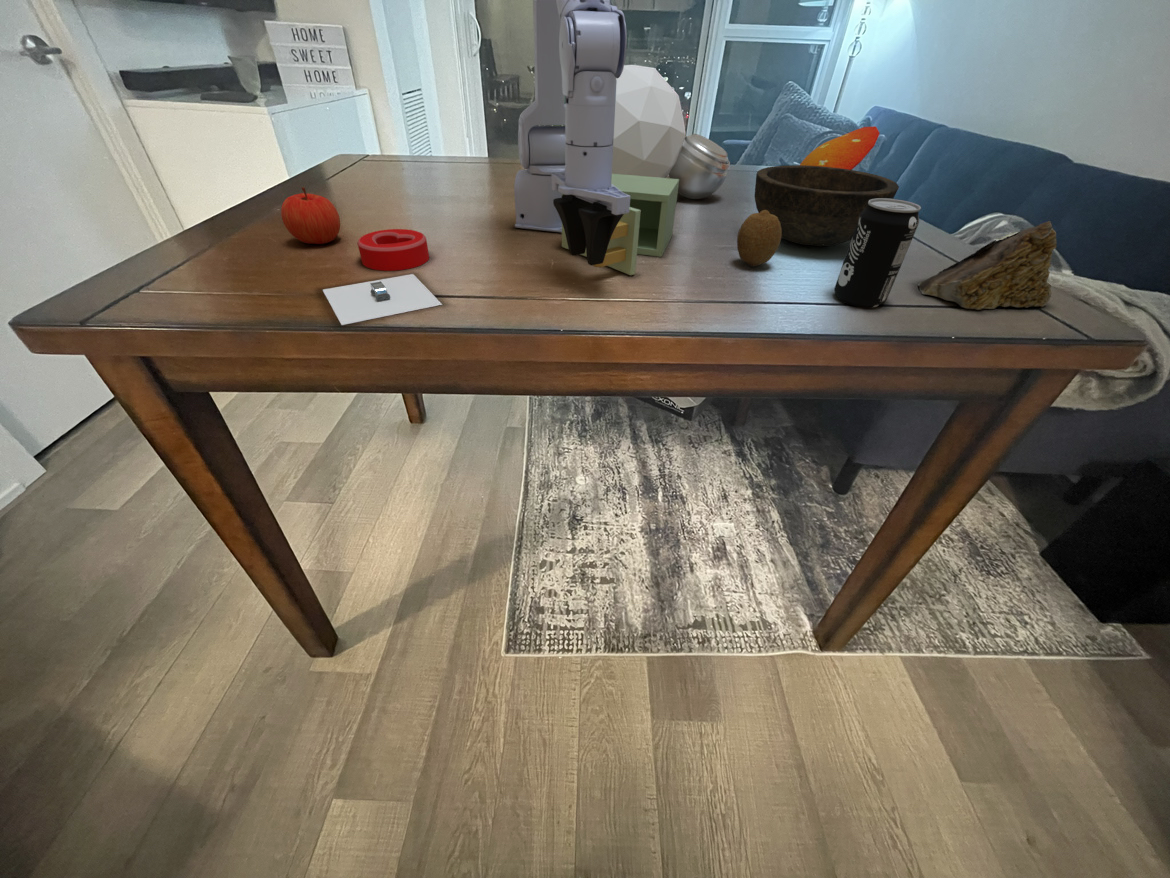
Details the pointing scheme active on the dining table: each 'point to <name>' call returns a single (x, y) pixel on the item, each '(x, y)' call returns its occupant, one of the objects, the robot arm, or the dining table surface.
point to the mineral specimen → (1000, 273)
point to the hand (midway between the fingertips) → (586, 258)
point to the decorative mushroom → (844, 149)
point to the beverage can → (876, 251)
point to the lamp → (661, 136)
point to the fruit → (759, 238)
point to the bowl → (818, 200)
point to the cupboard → (651, 209)
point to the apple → (310, 218)
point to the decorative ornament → (393, 249)
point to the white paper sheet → (379, 298)
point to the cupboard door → (620, 243)
